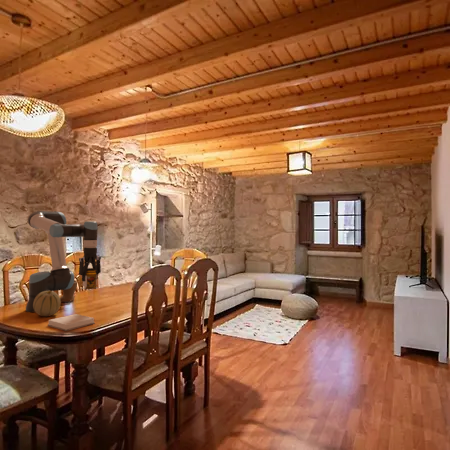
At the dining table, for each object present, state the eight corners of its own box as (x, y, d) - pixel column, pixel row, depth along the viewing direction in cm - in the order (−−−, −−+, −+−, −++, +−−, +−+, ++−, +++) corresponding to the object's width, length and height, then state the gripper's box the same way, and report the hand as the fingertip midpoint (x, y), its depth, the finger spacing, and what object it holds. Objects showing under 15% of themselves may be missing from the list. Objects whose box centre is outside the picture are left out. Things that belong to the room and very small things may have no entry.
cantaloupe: (44, 312, 213) (44, 287, 213) (66, 313, 211) (66, 288, 211) (26, 318, 199) (26, 292, 199) (49, 319, 196) (50, 292, 196)
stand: (47, 325, 184) (47, 320, 184) (76, 319, 198) (76, 313, 198) (66, 331, 175) (66, 325, 175) (94, 323, 189) (94, 318, 189)
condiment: (89, 290, 203) (89, 269, 203) (80, 288, 208) (80, 268, 208) (99, 288, 209) (100, 268, 209) (90, 286, 214) (91, 267, 214)
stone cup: (75, 302, 242) (75, 280, 242) (56, 303, 239) (57, 281, 239) (78, 298, 256) (79, 277, 257) (61, 299, 253) (61, 278, 253)
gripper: (79, 248, 199) (79, 288, 199) (107, 246, 215) (107, 284, 215) (72, 247, 203) (71, 287, 203) (99, 246, 219) (99, 283, 219)
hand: (89, 285), depth 209 cm, fingers closed on condiment, 6 cm apart
